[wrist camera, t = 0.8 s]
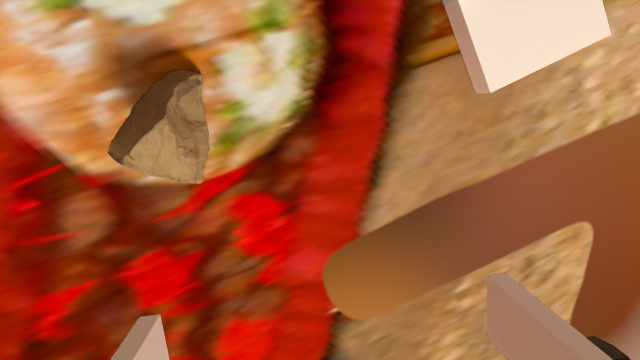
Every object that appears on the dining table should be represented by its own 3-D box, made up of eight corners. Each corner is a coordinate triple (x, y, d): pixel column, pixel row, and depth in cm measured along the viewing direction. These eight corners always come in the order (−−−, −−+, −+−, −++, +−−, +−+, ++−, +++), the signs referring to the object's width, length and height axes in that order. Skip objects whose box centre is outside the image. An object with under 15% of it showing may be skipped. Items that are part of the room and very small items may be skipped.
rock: (153, 37, 34) (87, 125, 34) (187, 56, 28) (109, 162, 28) (236, 103, 42) (183, 174, 42) (276, 128, 36) (215, 211, 36)
